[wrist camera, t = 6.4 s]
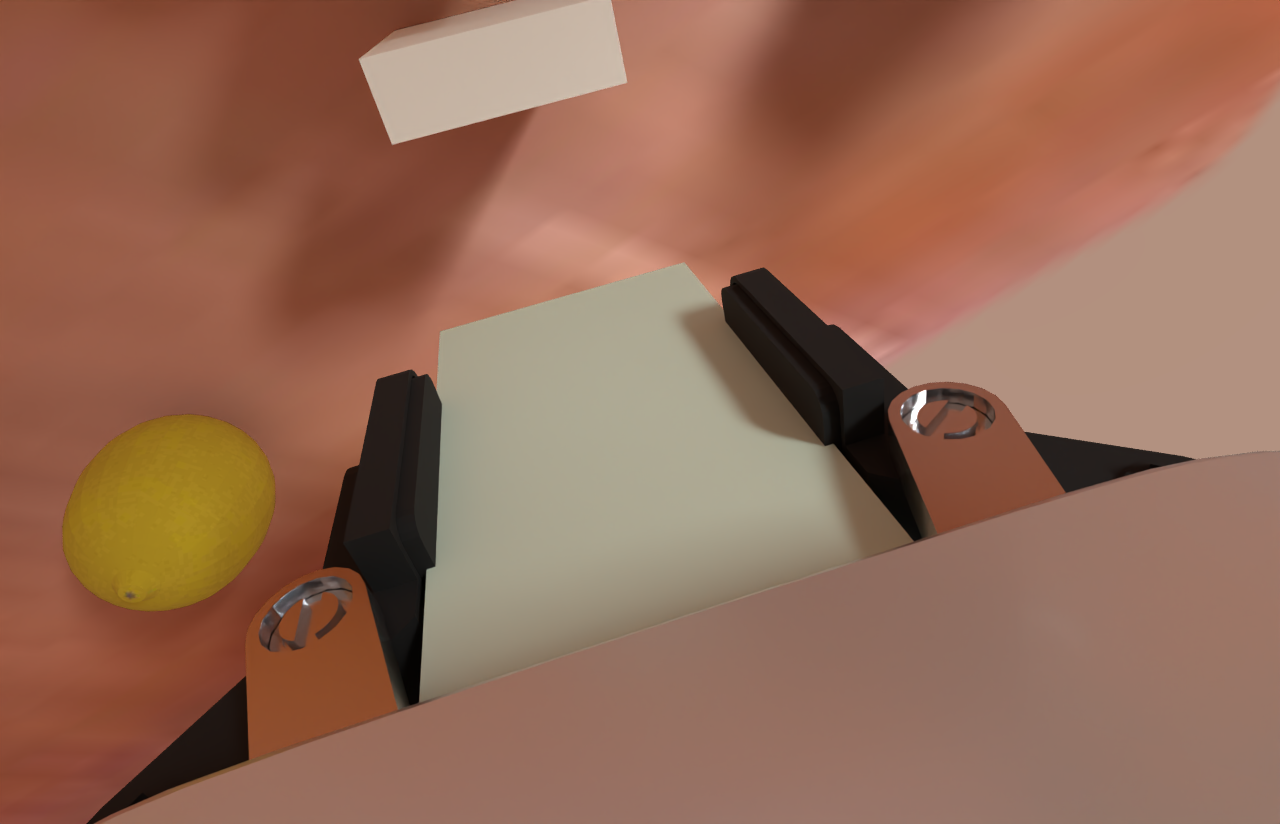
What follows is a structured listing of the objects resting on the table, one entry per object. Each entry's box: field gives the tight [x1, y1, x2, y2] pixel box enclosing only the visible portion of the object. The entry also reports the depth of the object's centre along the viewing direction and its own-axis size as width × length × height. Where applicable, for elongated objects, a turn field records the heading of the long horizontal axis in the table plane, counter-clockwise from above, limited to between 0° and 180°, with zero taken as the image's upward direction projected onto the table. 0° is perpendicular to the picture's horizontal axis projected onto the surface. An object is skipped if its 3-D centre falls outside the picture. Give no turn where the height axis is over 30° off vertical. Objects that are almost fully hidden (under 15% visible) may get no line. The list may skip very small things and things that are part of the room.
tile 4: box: [359, 0, 627, 145], centre depth 18 cm, size 2×5×9 cm, turn 103°
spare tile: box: [419, 263, 914, 703], centre depth 10 cm, size 2×5×9 cm, turn 103°
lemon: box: [62, 414, 275, 611], centre depth 23 cm, size 6×6×8 cm
